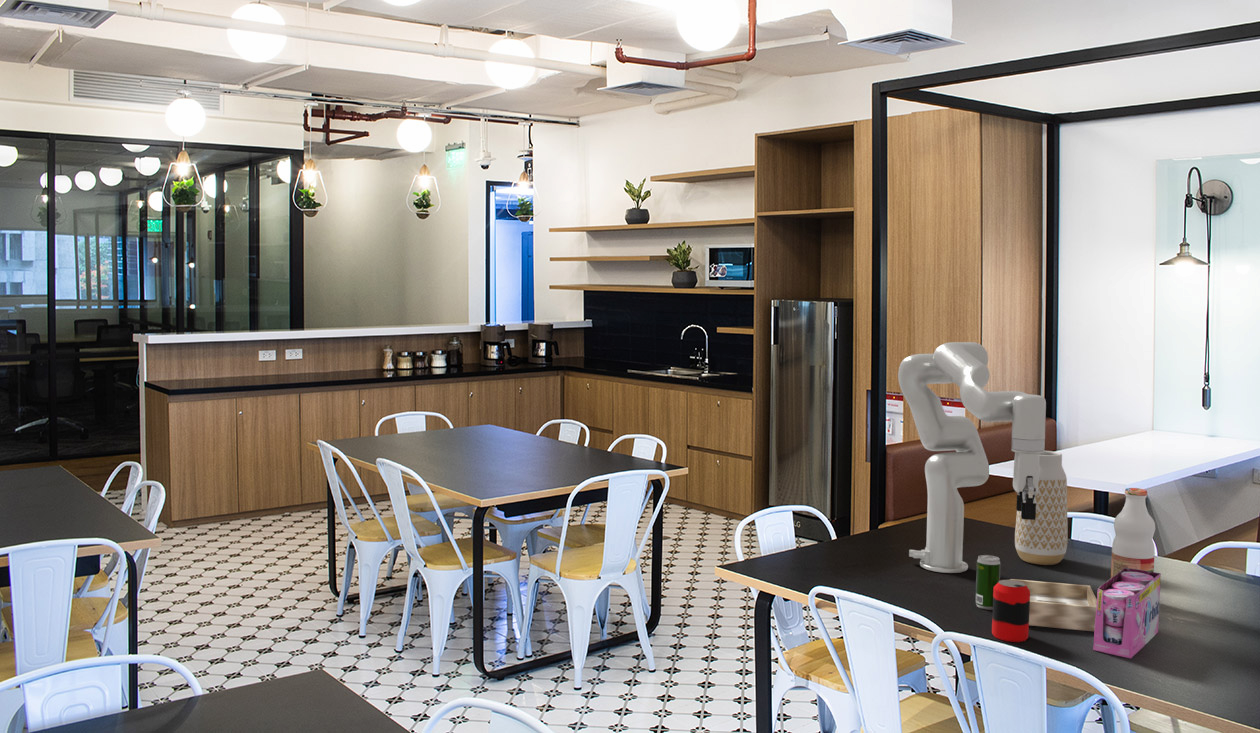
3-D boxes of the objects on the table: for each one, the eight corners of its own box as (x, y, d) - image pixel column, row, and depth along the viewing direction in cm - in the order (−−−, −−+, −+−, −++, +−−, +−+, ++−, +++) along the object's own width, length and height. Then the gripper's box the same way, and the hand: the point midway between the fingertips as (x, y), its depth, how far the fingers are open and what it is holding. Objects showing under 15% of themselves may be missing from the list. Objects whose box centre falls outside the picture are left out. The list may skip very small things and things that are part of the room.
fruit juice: (1107, 594, 262) (1112, 484, 259) (1148, 598, 259) (1154, 487, 257) (1112, 605, 253) (1117, 491, 251) (1155, 609, 250) (1161, 494, 248)
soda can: (1009, 644, 225) (1011, 590, 224) (984, 633, 232) (986, 580, 231) (1035, 639, 228) (1038, 586, 227) (1010, 629, 235) (1012, 577, 234)
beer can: (989, 611, 248) (991, 561, 247) (970, 605, 252) (972, 556, 251) (1003, 607, 251) (1005, 558, 250) (984, 601, 255) (986, 553, 254)
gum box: (1130, 661, 216) (1133, 597, 215) (1090, 652, 221) (1093, 589, 220) (1159, 632, 234) (1162, 572, 233) (1121, 624, 239) (1124, 566, 238)
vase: (1076, 562, 292) (1081, 454, 289) (1047, 570, 284) (1051, 458, 281) (1033, 551, 303) (1037, 447, 300) (1003, 558, 295) (1007, 451, 293)
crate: (1014, 623, 239) (1015, 600, 238) (1009, 600, 256) (1010, 578, 255) (1099, 631, 234) (1100, 607, 233) (1089, 608, 251) (1089, 585, 250)
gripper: (1007, 440, 262) (1005, 507, 264) (1015, 450, 246) (1013, 521, 247) (1039, 441, 261) (1037, 508, 262) (1049, 451, 244) (1047, 523, 245)
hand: (1025, 515), depth 254 cm, fingers open, 9 cm apart
